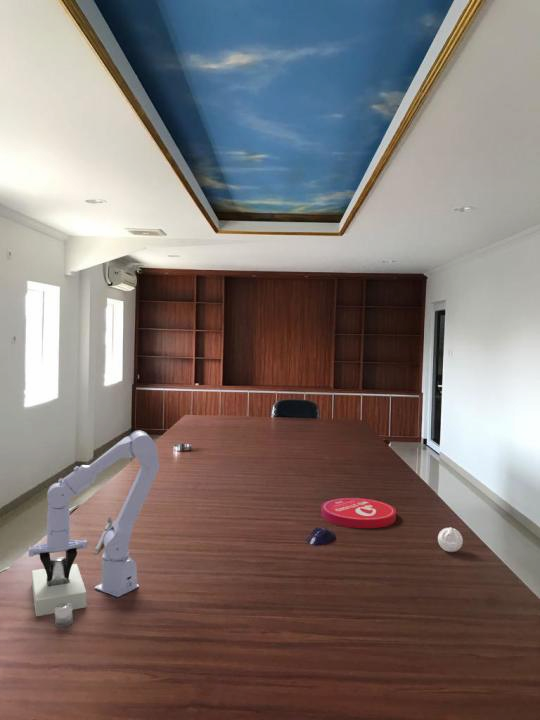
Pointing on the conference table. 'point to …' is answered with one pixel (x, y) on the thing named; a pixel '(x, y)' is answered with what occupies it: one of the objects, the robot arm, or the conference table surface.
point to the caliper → (103, 535)
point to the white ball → (450, 539)
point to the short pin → (63, 615)
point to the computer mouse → (320, 537)
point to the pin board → (57, 591)
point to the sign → (358, 513)
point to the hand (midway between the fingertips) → (58, 578)
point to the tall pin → (58, 571)
